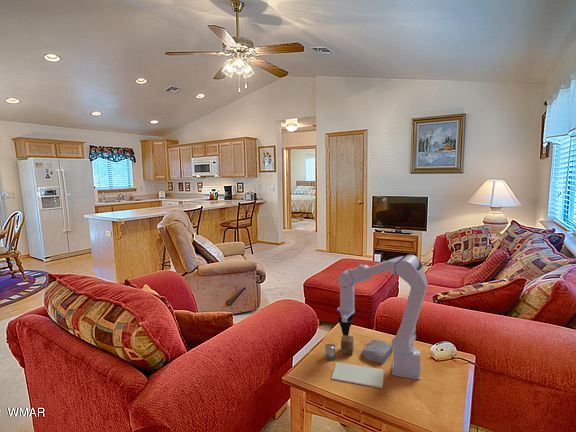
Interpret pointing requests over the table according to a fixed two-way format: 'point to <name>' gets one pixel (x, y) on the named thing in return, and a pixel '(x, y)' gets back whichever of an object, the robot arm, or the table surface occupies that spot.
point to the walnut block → (347, 345)
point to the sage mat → (358, 375)
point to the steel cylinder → (330, 352)
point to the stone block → (377, 351)
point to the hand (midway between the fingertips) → (347, 330)
